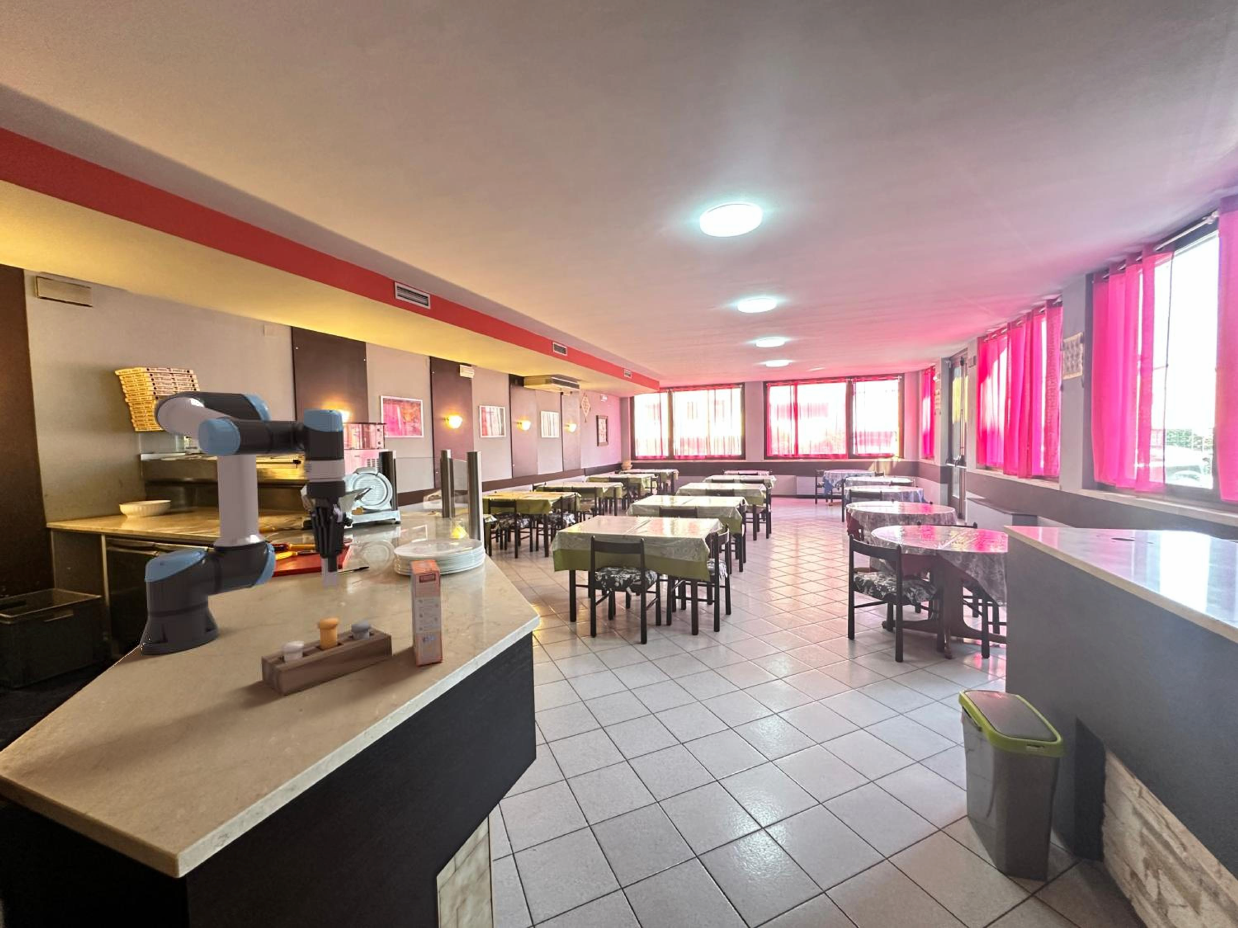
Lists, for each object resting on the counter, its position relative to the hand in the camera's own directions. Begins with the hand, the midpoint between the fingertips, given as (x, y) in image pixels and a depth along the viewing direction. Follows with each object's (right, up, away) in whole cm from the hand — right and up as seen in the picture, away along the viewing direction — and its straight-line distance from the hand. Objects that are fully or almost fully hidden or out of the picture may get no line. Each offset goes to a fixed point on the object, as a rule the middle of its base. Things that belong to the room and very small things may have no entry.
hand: (330, 585), depth 111 cm
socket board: (0, -18, 0) cm, 18 cm away
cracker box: (+19, -18, +6) cm, 27 cm away
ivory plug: (-4, -18, -6) cm, 19 cm away
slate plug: (+4, -17, +5) cm, 19 cm away
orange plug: (0, -15, 0) cm, 15 cm away
